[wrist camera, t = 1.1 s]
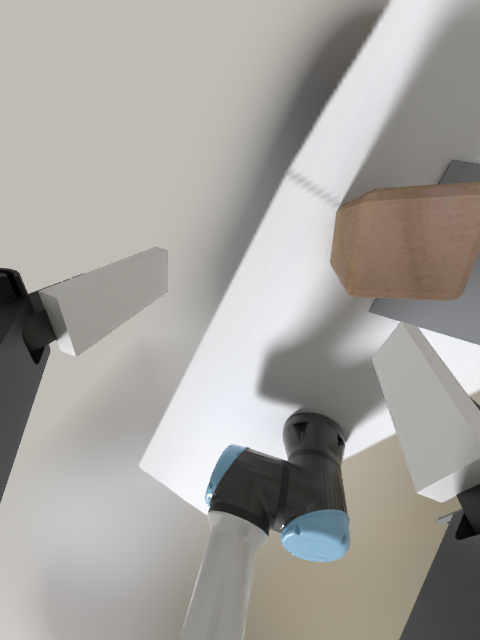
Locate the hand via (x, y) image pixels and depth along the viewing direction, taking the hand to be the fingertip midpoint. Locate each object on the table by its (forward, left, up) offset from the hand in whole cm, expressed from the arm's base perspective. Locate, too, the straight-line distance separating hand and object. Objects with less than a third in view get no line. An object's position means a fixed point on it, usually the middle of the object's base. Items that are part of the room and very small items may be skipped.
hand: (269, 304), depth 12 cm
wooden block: (+5, -10, -32) cm, 34 cm away
